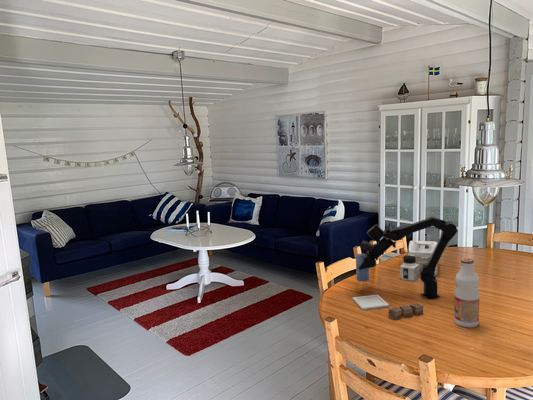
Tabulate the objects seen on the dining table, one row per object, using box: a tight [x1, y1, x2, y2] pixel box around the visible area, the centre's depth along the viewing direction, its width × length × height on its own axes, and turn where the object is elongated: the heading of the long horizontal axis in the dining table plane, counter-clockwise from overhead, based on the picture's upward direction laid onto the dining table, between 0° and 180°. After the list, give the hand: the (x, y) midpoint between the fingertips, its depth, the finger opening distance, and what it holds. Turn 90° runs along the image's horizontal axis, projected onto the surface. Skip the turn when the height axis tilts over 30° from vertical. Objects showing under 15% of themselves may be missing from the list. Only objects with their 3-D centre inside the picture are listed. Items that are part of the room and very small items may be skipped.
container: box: [400, 254, 420, 282], centre depth 228 cm, size 8×8×13 cm
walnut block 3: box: [409, 302, 424, 317], centre depth 184 cm, size 4×4×4 cm
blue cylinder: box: [355, 253, 370, 283], centre depth 211 cm, size 6×6×13 cm
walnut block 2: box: [399, 304, 413, 319], centre depth 183 cm, size 4×4×4 cm
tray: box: [352, 294, 390, 311], centre depth 198 cm, size 13×13×1 cm
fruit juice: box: [453, 257, 480, 329], centre depth 171 cm, size 9×9×28 cm
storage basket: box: [408, 240, 438, 277], centre depth 240 cm, size 24×16×15 cm
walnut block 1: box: [388, 306, 403, 321], centre depth 182 cm, size 4×4×4 cm
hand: (359, 267), depth 212 cm, fingers closed on blue cylinder, 6 cm apart
